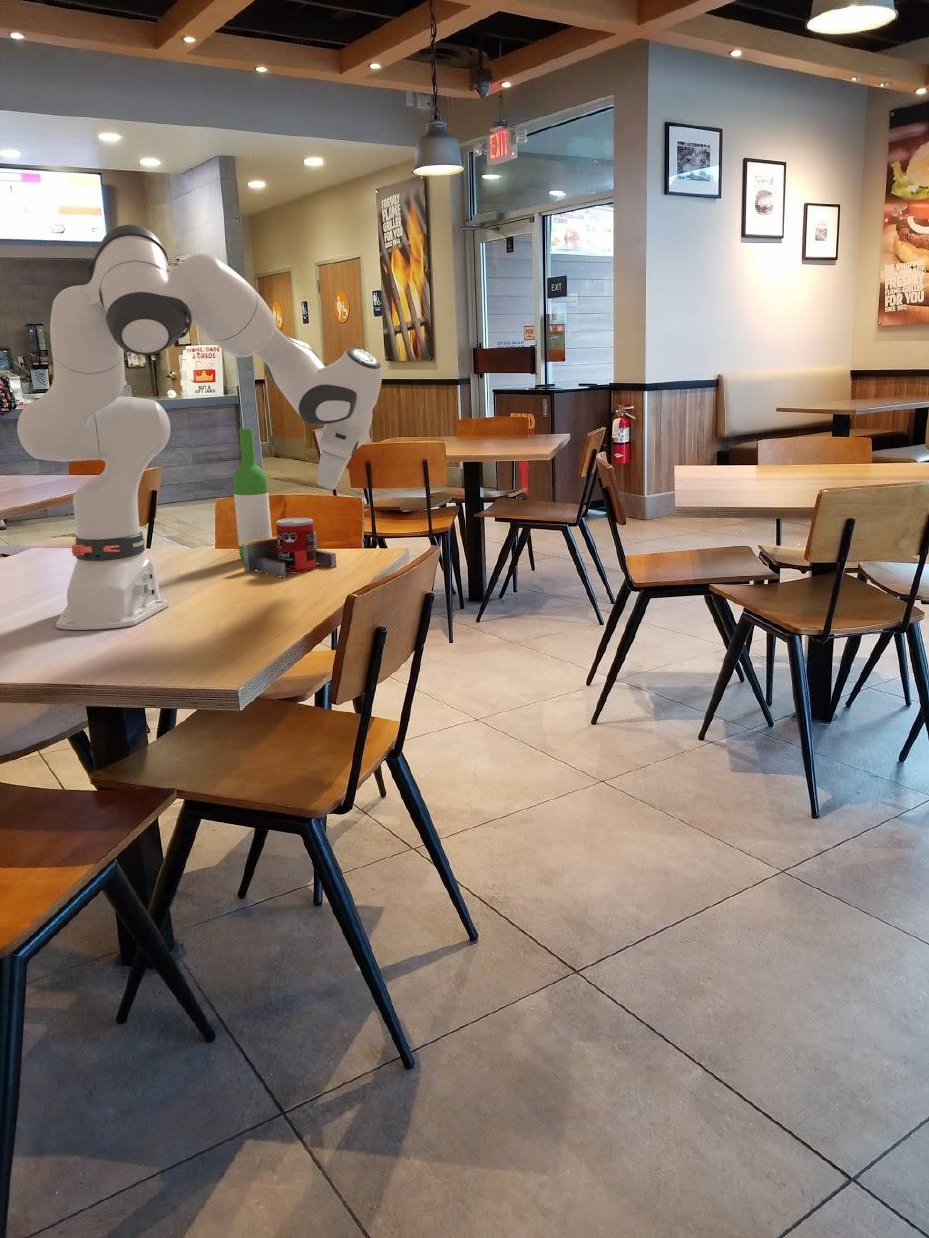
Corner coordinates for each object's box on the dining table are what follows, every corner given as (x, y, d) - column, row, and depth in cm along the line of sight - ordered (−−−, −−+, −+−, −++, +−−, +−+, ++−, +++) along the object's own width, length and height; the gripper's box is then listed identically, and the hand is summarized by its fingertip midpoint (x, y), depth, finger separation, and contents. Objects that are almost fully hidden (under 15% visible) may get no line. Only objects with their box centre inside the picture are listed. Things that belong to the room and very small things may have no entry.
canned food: (274, 569, 213) (271, 520, 210) (308, 564, 217) (305, 516, 214) (287, 574, 206) (283, 524, 203) (321, 570, 210) (318, 520, 207)
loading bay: (343, 565, 214) (341, 536, 213) (273, 578, 203) (271, 548, 201) (312, 558, 223) (310, 530, 221) (244, 571, 211) (242, 542, 209)
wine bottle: (257, 554, 230) (246, 427, 222) (280, 557, 225) (270, 428, 217) (232, 560, 223) (220, 430, 216) (256, 563, 219) (244, 430, 211)
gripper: (346, 397, 198) (333, 452, 207) (317, 446, 182) (305, 503, 191) (374, 407, 198) (360, 461, 207) (349, 457, 183) (335, 513, 192)
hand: (333, 482), depth 199 cm, fingers closed
